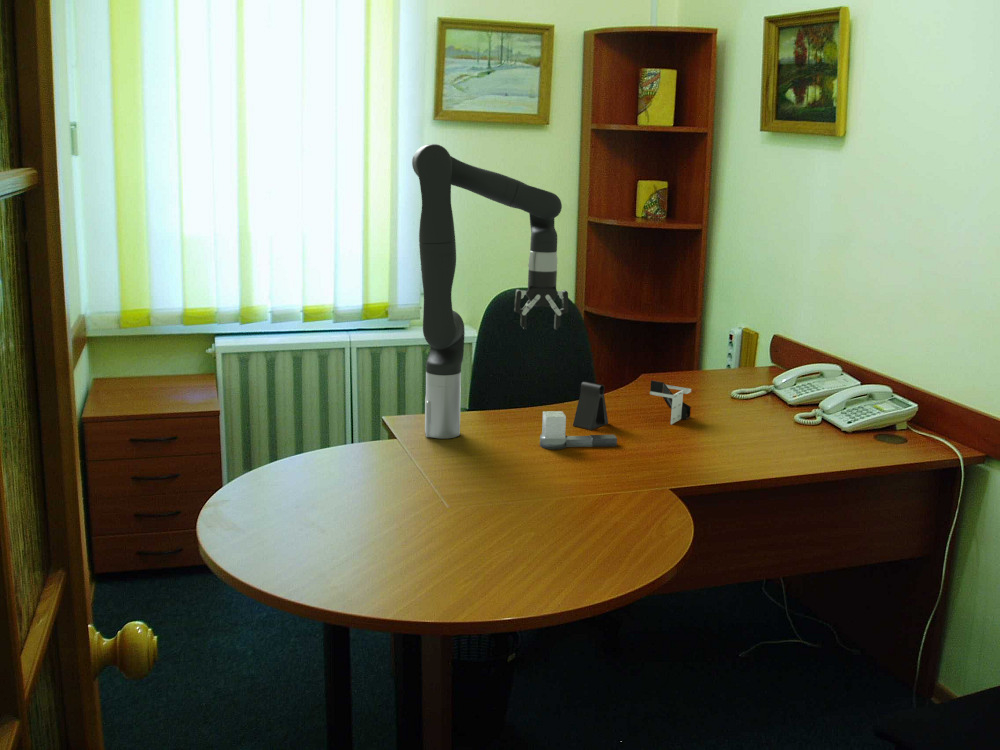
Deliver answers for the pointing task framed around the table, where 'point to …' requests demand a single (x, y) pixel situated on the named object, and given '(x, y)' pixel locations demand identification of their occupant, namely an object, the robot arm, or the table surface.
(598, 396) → the dark folded stand
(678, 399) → the two-tone angle bracket
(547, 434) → the small white cube
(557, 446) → the ratchet
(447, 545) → the table surface
